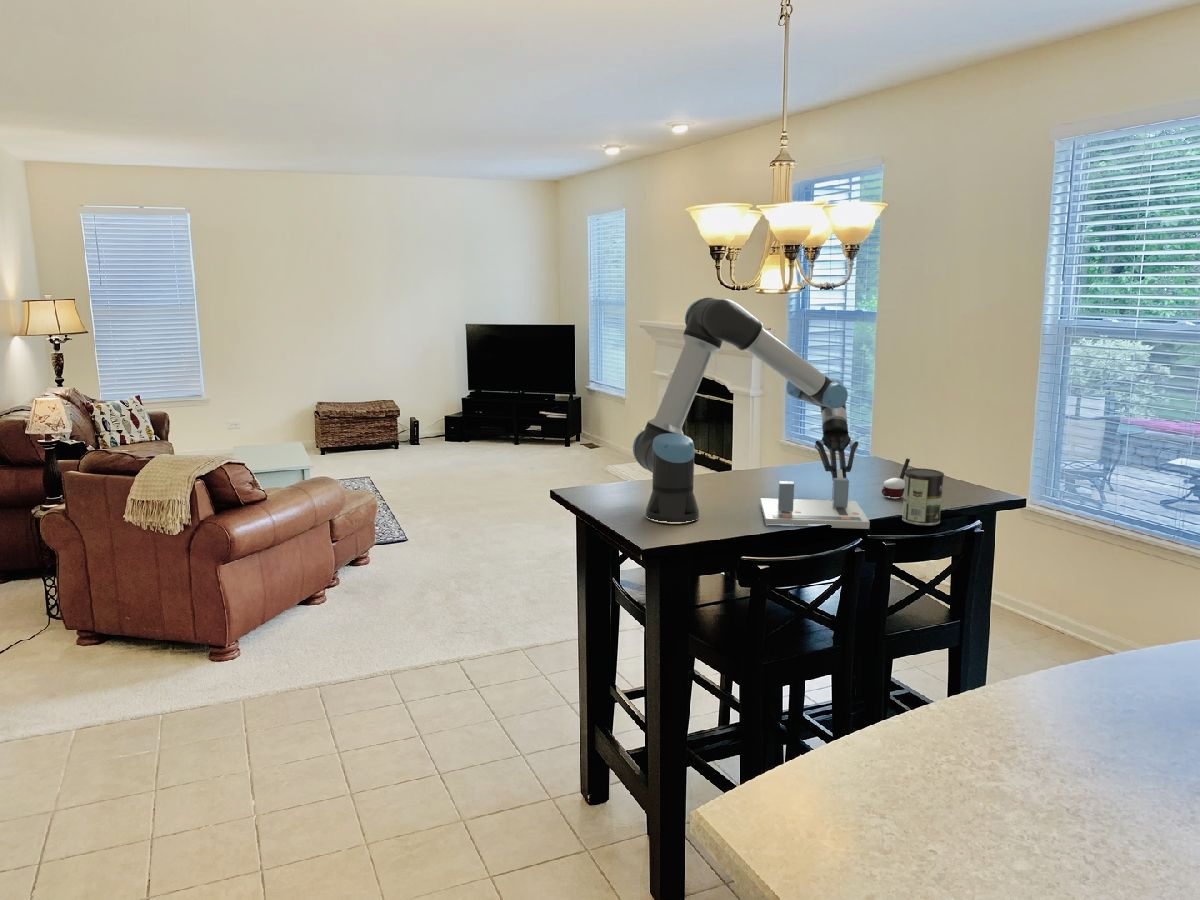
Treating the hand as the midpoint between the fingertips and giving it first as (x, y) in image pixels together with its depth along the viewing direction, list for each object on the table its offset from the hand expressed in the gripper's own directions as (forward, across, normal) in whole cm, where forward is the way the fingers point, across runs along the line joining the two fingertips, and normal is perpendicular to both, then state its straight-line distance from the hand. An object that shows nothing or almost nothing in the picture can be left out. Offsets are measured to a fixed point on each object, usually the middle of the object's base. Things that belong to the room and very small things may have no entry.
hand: (840, 490), depth 254 cm
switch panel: (+9, +8, 0) cm, 12 cm away
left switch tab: (+9, +17, +3) cm, 19 cm away
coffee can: (+9, -22, 0) cm, 23 cm away
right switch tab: (+5, +1, -1) cm, 5 cm away
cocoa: (-8, -20, -18) cm, 28 cm away
